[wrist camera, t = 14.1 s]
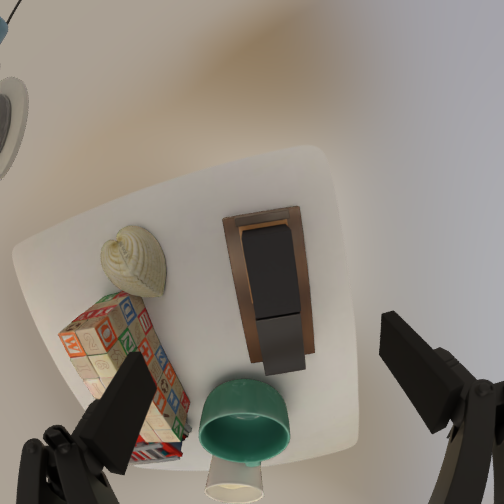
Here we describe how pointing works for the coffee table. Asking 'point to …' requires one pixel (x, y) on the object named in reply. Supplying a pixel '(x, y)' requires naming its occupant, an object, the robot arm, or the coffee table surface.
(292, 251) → the black block
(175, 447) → the toy fire truck
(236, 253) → the brown wooden tray
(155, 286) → the seashell
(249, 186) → the coffee table surface
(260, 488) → the candle holder
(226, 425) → the mug
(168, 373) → the stack of blocks
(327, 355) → the coffee table surface
